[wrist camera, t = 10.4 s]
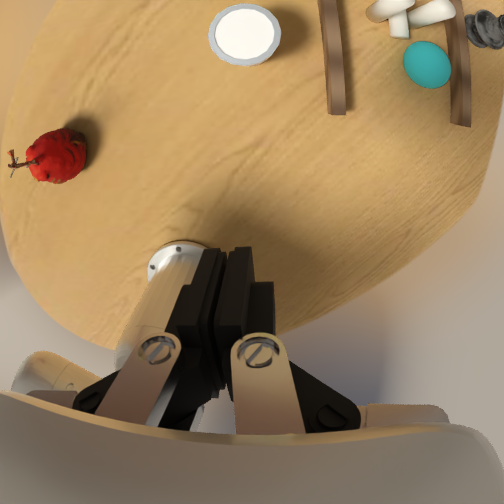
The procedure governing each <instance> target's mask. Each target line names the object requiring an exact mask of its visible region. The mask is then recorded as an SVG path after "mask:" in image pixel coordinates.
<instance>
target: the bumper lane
mask: <svg viewBox="0 0 504 504" xmlns="http://www.w3.org/2000/svg"><path fill="white" fill-rule="evenodd" d="M449 1H450V2H451V3H452V4H453V6H454V7H455V10H456V14H455V16H454V17H453V18H449V19H446V20H444V21H445V28H446V36H447V44H448V55H449V61H450V64H451V75H450V89H451V123H454V124H457V125H460V126H465V127H471V74H470V60H469V49H468V40H467V32H466V25H465V19H464V13H463V8H462V3H461V0H449ZM318 7H319V15H320V23H321V32H322V41H323V51H324V63H325V75H326V89H327V106H328V114H331V115H346V99H345V81H344V67H343V55H342V45H341V35H340V26H339V18H338V10H337V3H336V0H318Z"/></svg>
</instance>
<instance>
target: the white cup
mask: <svg viewBox="0 0 504 504" xmlns="http://www.w3.org/2000/svg"><path fill="white" fill-rule="evenodd" d="M280 37H281V29H280V26H279V23H278V20H277V19H276V18H275V17H274V16H273V14H272V13H271V12H270V11H269V10H267V9H265V8H263V7H260V6H258V5H255V4H244V3H241V4H237V5H233V6H230V7H227V8H226V9H224V10H223V11H221V12H220V13H218V14H217V15H216V17H215V18H214V20H213V21H212V23H211V24H210V27H209V33H208V39H209V43H210V46H211V49H212V50H213V51H214V52H215V53H216V55H217V56H218V57H219V58H220V59H222V60H224V61H226V62H228V63H231V64H233V65H241V66H250V67H251V66H255V65H259V64H261V63H263V62H264V61H266V60H267V59H268V58H269V57H270V56H271V55H272V54H273V53H274V51H275V50H276V48H277V47H278V45H279V43H280Z"/></svg>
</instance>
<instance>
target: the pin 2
mask: <svg viewBox="0 0 504 504" xmlns="http://www.w3.org/2000/svg"><path fill="white" fill-rule="evenodd" d="M455 14H456V10H455V7H454V6H453V4H452V3H451V2H450V1H449V0H434V1H432V2H429V3H427V4H425V5H423V6H420V7H418V8H416V9H414V10H412V11H410V12H407V20H408V28H410V29H417V28H420V27H423V26H426V25H429V24H432V23H436V22H439V21H442V20H446V19H449V18H453V17H454V16H455Z"/></svg>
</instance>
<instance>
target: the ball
mask: <svg viewBox="0 0 504 504" xmlns="http://www.w3.org/2000/svg"><path fill="white" fill-rule="evenodd" d="M403 64H404V68H405V71H406V73H407V74H408V76H409V77H410V78H411V79H412V80H413V81H414V82H415V83H416V84H418V85H420V86H422V87H425V88H430V89H434V88H439V87H441V86H443V85H444V84H445V83H446V82H447V81H448V80H449V78H450V75H451V64H450V61H449V58H448V57H447V55H446V53H445V52H444V51H443V50H442V49H441V48H440V47H438V46H437V45H435V44H433V43H430V42H426V41H419V42H415V43H413V44H411V45H410V46H409V47H408V48H407V49H406V51H405V53H404V56H403Z"/></svg>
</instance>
